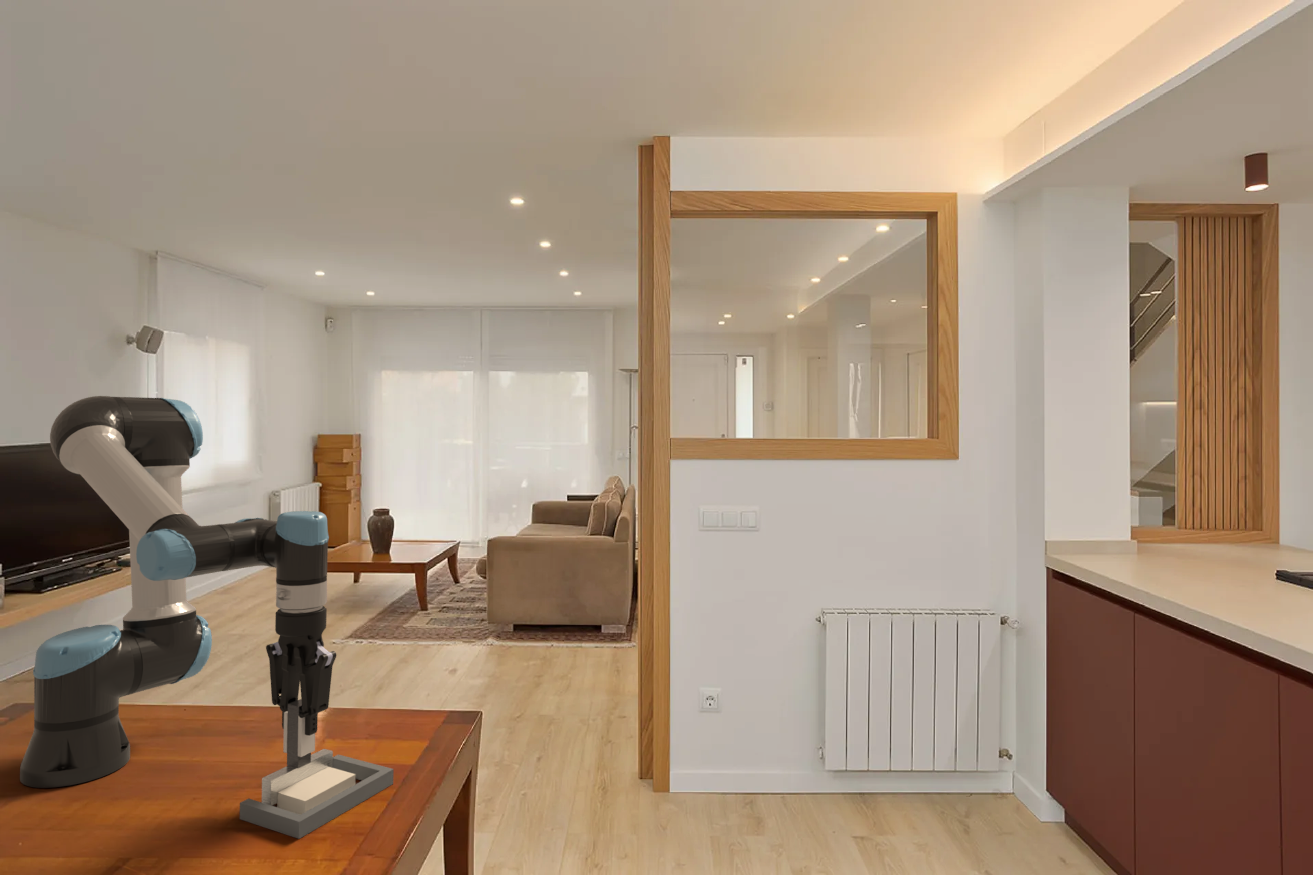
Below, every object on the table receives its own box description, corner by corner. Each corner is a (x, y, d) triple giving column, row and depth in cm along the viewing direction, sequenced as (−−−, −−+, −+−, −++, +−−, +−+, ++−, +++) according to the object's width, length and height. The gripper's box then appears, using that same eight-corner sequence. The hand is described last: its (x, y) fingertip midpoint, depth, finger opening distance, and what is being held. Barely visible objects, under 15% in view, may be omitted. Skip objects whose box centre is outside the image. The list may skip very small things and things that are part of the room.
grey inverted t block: (322, 771, 130) (324, 690, 129) (333, 774, 129) (334, 692, 128) (260, 802, 119) (261, 713, 118) (271, 806, 118) (273, 716, 117)
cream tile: (277, 811, 119) (277, 792, 119) (328, 784, 128) (328, 766, 128) (305, 820, 116) (305, 801, 116) (355, 792, 126) (355, 774, 125)
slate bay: (239, 818, 116) (239, 802, 116) (338, 768, 133) (338, 754, 133) (299, 838, 110) (299, 821, 110) (393, 783, 128) (393, 768, 128)
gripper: (247, 606, 123) (245, 750, 123) (317, 618, 117) (315, 770, 117) (286, 597, 130) (284, 734, 130) (355, 608, 123) (352, 751, 124)
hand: (299, 750), depth 124 cm, fingers closed on grey inverted t block, 2 cm apart
